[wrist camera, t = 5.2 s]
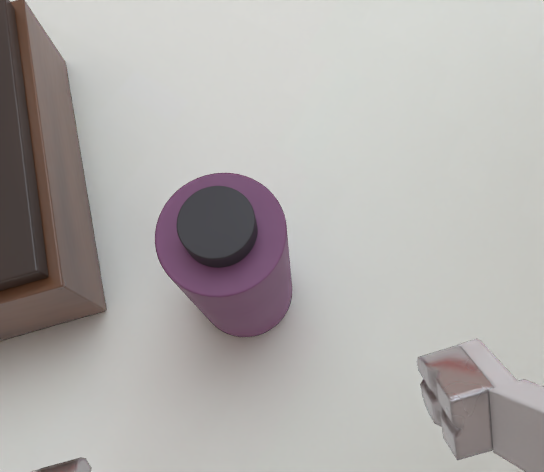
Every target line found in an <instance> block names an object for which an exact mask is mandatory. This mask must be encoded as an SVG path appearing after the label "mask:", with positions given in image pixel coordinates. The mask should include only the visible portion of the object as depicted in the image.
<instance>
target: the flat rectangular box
mask: <svg viewBox="0 0 544 472" xmlns="http://www.w3.org/2000/svg"><path fill="white" fill-rule="evenodd" d="M103 311H106V304H105V298H104V292H103V286H102V280H101V274H100V268H99V262H98V256H97V250H96V244H95V238H94V232H93V226H92V220H91V214H90V208H89V202H88V196H87V190H86V184H85V178H84V172H83V166H82V160H81V153H80V147H79V141H78V135H77V129H76V123H75V117H74V111H73V105H72V99H71V93H70V87H69V81H68V75H67V69H66V63H65V61H64V59H63V58H62V56H61V55H60V53H59V52H58V50H57V49H56V47H55V45H54V44H53V42H52V41H51V39H50V38H49V36H48V35H47V33H46V32H45V30H44V29H43V27H42V26H41V24H40V23H39V21H38V20H37V18H36V17H35V15H34V14H33V12H32V11H31V9H30V8H29V6H28V5H27V3H26V2H25V0H16V1H13V2H10V1H9V0H0V341H1V340H5V339H8V338H12V337H15V336H19V335H22V334H26V333H29V332H33V331H36V330H40V329H44V328H47V327H51V326H54V325H58V324H61V323H65V322H68V321H72V320H75V319H79V318H82V317H86V316H89V315H93V314H96V313H100V312H103Z"/></svg>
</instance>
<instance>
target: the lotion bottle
mask: <svg viewBox="0 0 544 472" xmlns="http://www.w3.org/2000/svg"><path fill="white" fill-rule="evenodd" d="M155 246H156V252H157V255H158V259H159V261H160V263H161V265H162V267H163V269H164V270H165V272H166V273H167V275H168V276H169V277H170V278H171V279H172V280H173V281H174V282H175V284H176V285H177V286H178V287H179V288H180V289H181V290H182V291H183V292H184V293H185V294H186V295H187V296H188V298H189V299H190V300H191V301H192V302H193V303H194V304H195V305H196V306H197V307H198V308H199V309H200V310H201V312H202V313H203V314H204V315H205V316H206V317H207V318H208V319H209V320H210V321H211V322H212V323H213V324H214V325H215V326H216V327H217V328H218V329H220V330H221V331H223V332H225V333H227V334H230V335H233V336H238V337H252V336H256V335H260V334H263V333H265V332H267V331H269V330H270V329H272V328H273V327H275V326H276V325H277V324H278V323H279V322H280V321H281V320H282V318H283V317H284V316H285V314H286V312H287V310H288V308H289V306H290V302H291V298H292V282H291V271H290V260H289V249H288V237H287V226H286V220H285V215H284V213H283V210H282V207H281V206H280V204H279V202H278V200H277V199H276V198H275V196H274V195H273V194H272V193H271V192H270V191H269V190H268V189H267V188H266V187H265V186H263V185H262V184H261V183H259V182H257V181H255V180H254V179H251V178H249V177H246V176H243V175H239V174H233V173H215V174H210V175H205V176H202V177H199V178H197V179H195V180H193V181H191V182H189V183H187V184H186V185H184V186H183V187H181V188H180V189H179V190H178V191H176V192H175V194H174V195H173V196H172V197H171V198H170V199H169V200H168V202H167V203H166V204H165V206H164V208H163V210H162V211H161V214H160V216H159V218H158V222H157V225H156V232H155Z"/></svg>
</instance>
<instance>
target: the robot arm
mask: <svg viewBox="0 0 544 472" xmlns="http://www.w3.org/2000/svg"><path fill="white" fill-rule="evenodd" d="M417 365H418V371H419V372H420V374H421V376H422V377H423V381H422V383H421V384H420V386H421V392H422V396H423V400H424V403H425V406H426V408H427V410H428V412H429V415H430V416H431V418H432V420H433V422H434V423H435V424H437V425H439V426H441V427H442V432H443V438H444V440H445V441H446V443H447V445H448V446H449V448H450V449H451V451H452V453H453V454H454V456H455V458H456V459H457V460H460V459H463V458H467V457H471V456H474V455H478V454H482V453H485V452H489V451H492V450H493V452H494V453H496V454H497V455H499V456H500V457H502V458H504V459H505V460H507V461H509V462H510V463H512V464H514V465H515V466H517V467H518V468H520V469H522V470H523V471H525V472H544V386H541V385H538V384H536V383H533V382H530V381H528V380H525V379H523V380H519V381H518V380H517V379H516V378H515V377H514V376H513V375H512V374H511V373H510V372H509V371H508V369H507V368H506V367H505V366H504V365H503V364H502V363H501V362H500V361H499V360H498V359H497V357H496V356H495V355H494V354H493V353H492V352H491V351H490V350H489V349H488V348H487V347H486V346H485V344H484V343H483V342H482V341H481V340H479V339H474V340H471V341H467V342H464V343H461V344H458V345H457V346H452V347H449V348H446V349H443V350H439V351H436V352H433V353H430V354H426V355H423V356H420V357H418V359H417ZM91 469H92V468H91V466H90V464H89V463H88V461H87V460H86V458H77V459H74V460H70V461H66V462H63V463H59V464H55V465H52V466H48V467H44V468H41V469H39V470H35V471H31V472H91Z"/></svg>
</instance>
